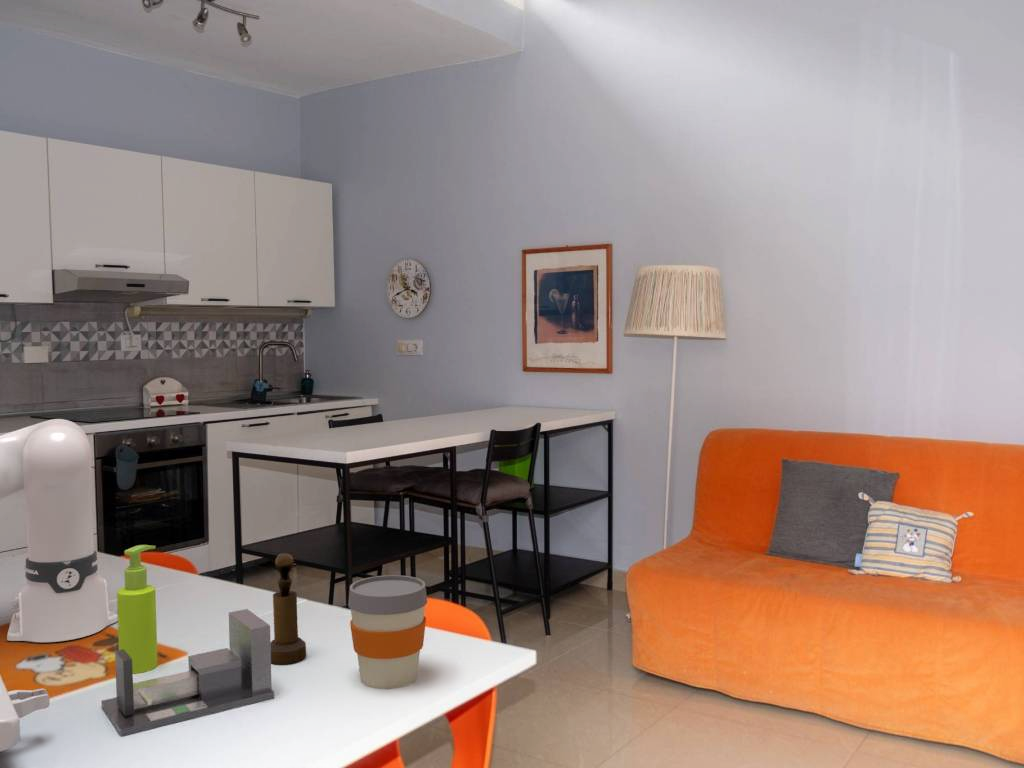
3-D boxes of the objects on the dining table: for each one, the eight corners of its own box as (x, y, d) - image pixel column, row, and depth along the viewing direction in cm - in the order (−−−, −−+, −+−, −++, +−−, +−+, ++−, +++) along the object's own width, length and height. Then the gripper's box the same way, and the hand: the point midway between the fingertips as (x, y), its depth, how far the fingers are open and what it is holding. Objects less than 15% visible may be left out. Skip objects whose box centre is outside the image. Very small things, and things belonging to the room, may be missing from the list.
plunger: (116, 704, 135) (115, 650, 135) (194, 686, 142) (192, 635, 141) (130, 723, 129) (128, 667, 128) (211, 704, 135) (209, 650, 135)
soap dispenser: (169, 660, 156) (165, 544, 155) (140, 675, 150) (136, 553, 148) (141, 656, 158) (137, 541, 157) (111, 671, 152) (107, 551, 150)
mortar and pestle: (270, 651, 160) (268, 549, 159) (308, 650, 161) (306, 548, 160) (263, 665, 154) (261, 559, 152) (303, 664, 154) (301, 558, 153)
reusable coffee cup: (394, 699, 140) (393, 601, 139) (332, 682, 146) (331, 589, 145) (443, 672, 150) (442, 581, 149) (384, 657, 157) (382, 571, 156)
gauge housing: (101, 707, 137) (99, 634, 137) (246, 673, 150) (245, 607, 149) (120, 736, 128) (118, 658, 127) (274, 698, 140) (272, 627, 140)
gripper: (-76, 718, 128) (36, 695, 136) (-65, 777, 111) (62, 746, 119) (-78, 674, 127) (34, 653, 135) (-67, 726, 110) (60, 698, 119)
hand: (47, 697), depth 127 cm, fingers closed
